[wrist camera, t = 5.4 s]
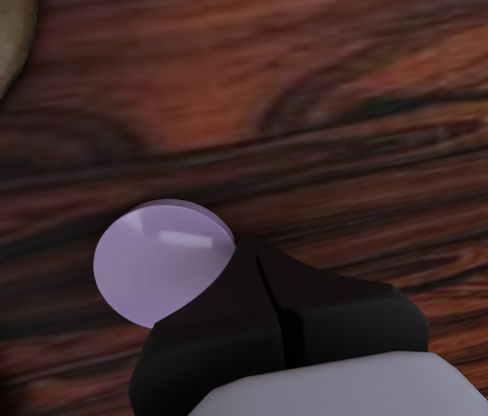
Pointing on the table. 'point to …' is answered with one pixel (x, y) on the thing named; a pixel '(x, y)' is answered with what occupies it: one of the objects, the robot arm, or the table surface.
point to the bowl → (15, 38)
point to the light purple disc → (160, 258)
